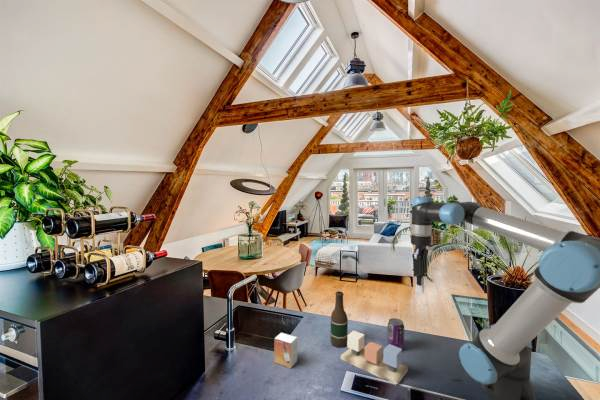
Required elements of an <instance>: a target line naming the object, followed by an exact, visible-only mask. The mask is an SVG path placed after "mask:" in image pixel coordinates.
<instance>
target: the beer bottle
mask: <svg viewBox="0 0 600 400" xmlns="http://www.w3.org/2000/svg"><path fill="white" fill-rule="evenodd" d="M334 295H335V305H334V309H333V310H332V312H331V315H330V343H331V346H333V347H334V348H339V349H340V348H345V347H347V335H348V334H349V333H348V330H349V329H348V328H349V327H348V325H349V324H348V321H349V320H348V315H347V313H346V310H345V307H344V292H343V291H340V290H339V291H336V292H335V294H334Z"/></svg>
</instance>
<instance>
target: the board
mask: <svg viewBox="0 0 600 400" xmlns="http://www.w3.org/2000/svg"><path fill="white" fill-rule="evenodd" d="M364 352H365V347H363V348H362V349H361V350H360V351H359V352H357V351H355V350H353V349H350V348H348V349H347V350H346V351H345V352H343V353H342V354H341V355H340V360H341V361H344V362H346V363H348V364H350V365H352V366H355V367H356V368H358V369H361V370H363V371H365V372H367V373H369V374H371V375H373V376H376V377H377V378H379V379H382V378H383V379H382V380H384V379H386V380H388V381H390V382H392V383H395V384H399V383H400V382H401V381H402V379H403V378H404V377H405V375H406V374H407V372H408V369H409V368H408V367H409V366H407V365H404V364H402V363H400V365H399V366H398V367H397V368H394V367H392V366H390V365H387V364H385V363H383V355H382V359H381V360H380V361H379V362H378V363H377V365H376V364H374V363H372V362H369V361H367V360H365V359H364ZM386 380H385V381H386ZM388 381H387V382H388ZM390 382H389V383H390ZM392 383H391V384H392Z"/></svg>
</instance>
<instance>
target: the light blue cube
mask: <svg viewBox="0 0 600 400" xmlns="http://www.w3.org/2000/svg"><path fill="white" fill-rule="evenodd" d="M382 356H383V363H385V364H387V365H390V366H392V367H394V368H397V367H398V366H399V365H400V364H402V363H403V358H402V357H403V349H401V348H398V347H396V346H393V345H390V344H389V345H386V346H385V347H384V348H383V349H382Z"/></svg>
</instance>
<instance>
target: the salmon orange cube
mask: <svg viewBox="0 0 600 400" xmlns="http://www.w3.org/2000/svg"><path fill="white" fill-rule="evenodd" d="M364 349H365V352H364V359H365V360H367V361H369V362H372V363H374V364H376V365H377V363H378V362H379V361H380V360H381V359H382V356H383V345H380V344H378V343H376V342H372V341H370V342H368V343H366V345H364Z"/></svg>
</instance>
